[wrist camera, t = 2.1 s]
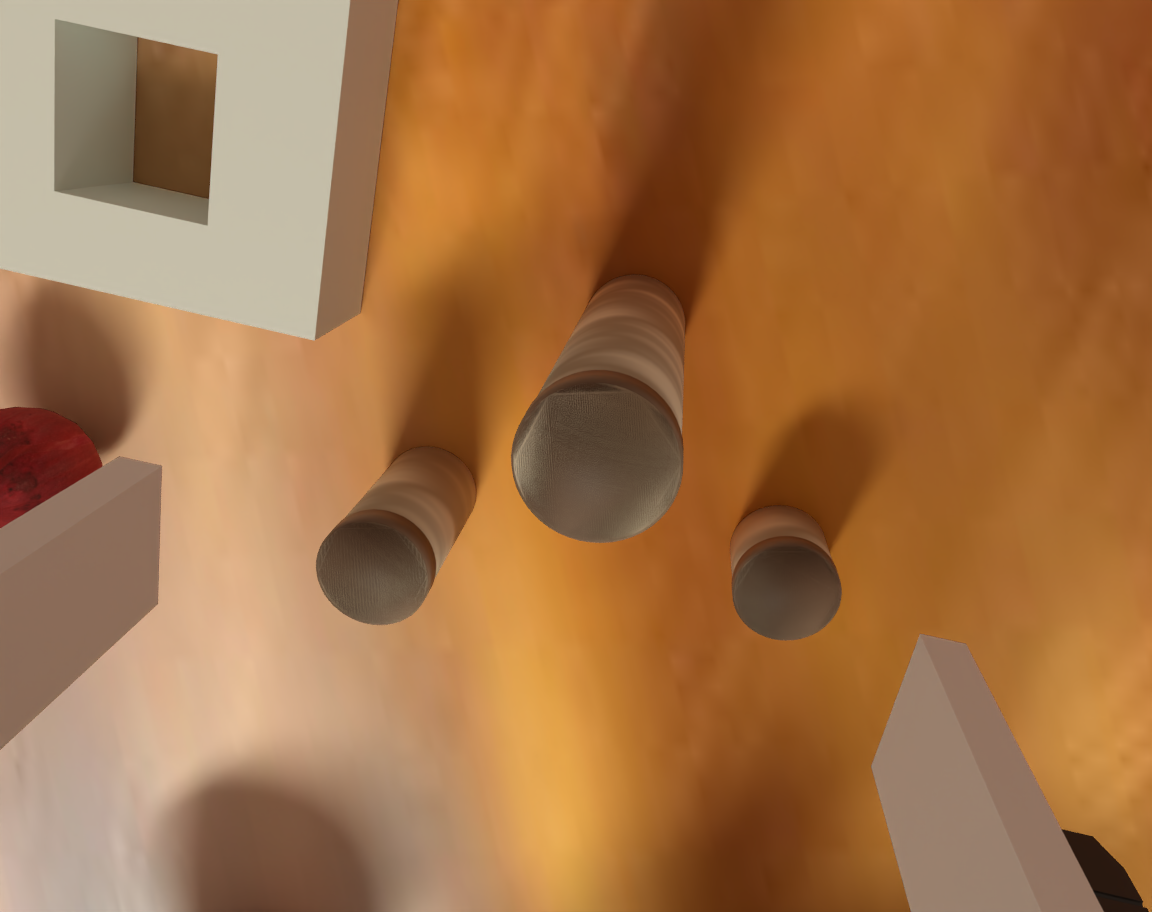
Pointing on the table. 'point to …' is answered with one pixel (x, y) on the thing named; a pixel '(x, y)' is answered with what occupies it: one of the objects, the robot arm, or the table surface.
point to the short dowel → (783, 574)
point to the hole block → (238, 167)
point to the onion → (39, 458)
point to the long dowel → (609, 418)
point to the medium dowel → (397, 537)
